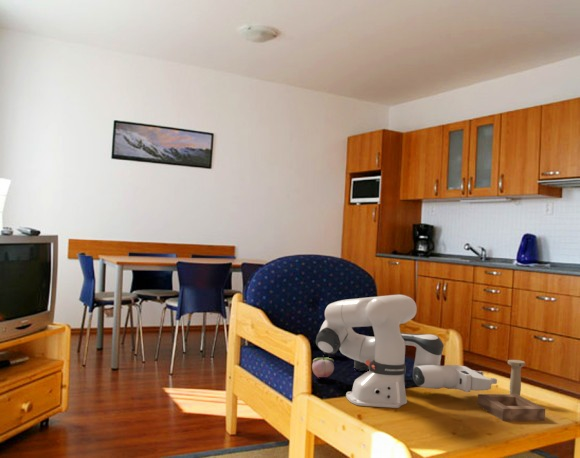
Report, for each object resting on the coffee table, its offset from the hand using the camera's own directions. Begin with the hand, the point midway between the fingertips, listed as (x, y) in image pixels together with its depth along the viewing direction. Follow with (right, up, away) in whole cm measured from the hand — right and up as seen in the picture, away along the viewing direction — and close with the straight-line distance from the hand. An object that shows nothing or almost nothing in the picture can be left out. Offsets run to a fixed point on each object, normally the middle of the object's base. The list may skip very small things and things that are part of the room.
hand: (489, 377), depth 197 cm
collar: (+2, -8, -14) cm, 17 cm away
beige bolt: (+10, -9, +1) cm, 14 cm away
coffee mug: (-56, -7, +59) cm, 82 cm away
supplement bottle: (-45, -7, +35) cm, 57 cm away
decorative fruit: (-64, -6, +16) cm, 66 cm away
